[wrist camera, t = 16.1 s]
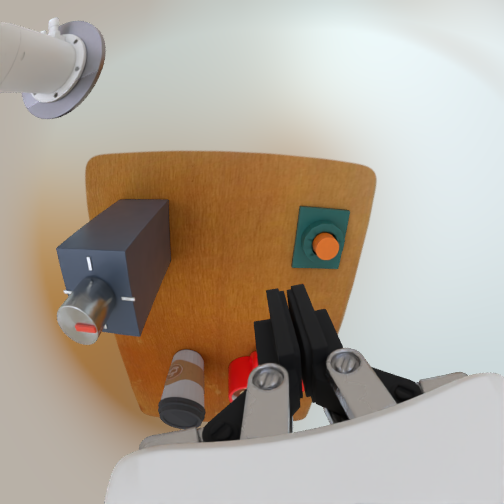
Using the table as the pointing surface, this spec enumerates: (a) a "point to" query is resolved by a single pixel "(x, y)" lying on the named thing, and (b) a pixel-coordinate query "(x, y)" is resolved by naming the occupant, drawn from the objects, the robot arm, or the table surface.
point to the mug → (240, 374)
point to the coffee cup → (184, 391)
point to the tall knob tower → (122, 258)
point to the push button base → (314, 224)
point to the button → (325, 246)
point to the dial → (86, 310)
